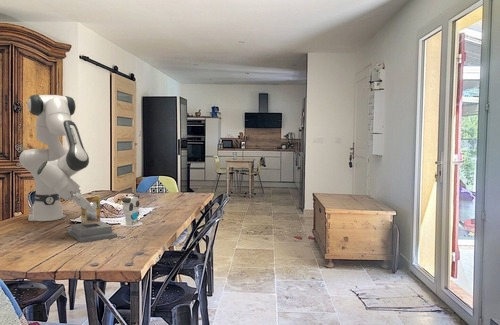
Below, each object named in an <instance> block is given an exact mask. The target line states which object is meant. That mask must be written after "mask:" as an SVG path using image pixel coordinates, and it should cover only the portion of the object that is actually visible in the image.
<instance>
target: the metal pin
mask: <svg viewBox="0 0 500 325" xmlns="http://www.w3.org/2000/svg"><path fill="white" fill-rule="evenodd" d="M90 205H91V207H92V208H94V209H95V211H94V212H93V213H92V212H91V211H89V210H88V209H87V208H86V220H87V221H93V220H97V211H96V202H90Z"/></svg>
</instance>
